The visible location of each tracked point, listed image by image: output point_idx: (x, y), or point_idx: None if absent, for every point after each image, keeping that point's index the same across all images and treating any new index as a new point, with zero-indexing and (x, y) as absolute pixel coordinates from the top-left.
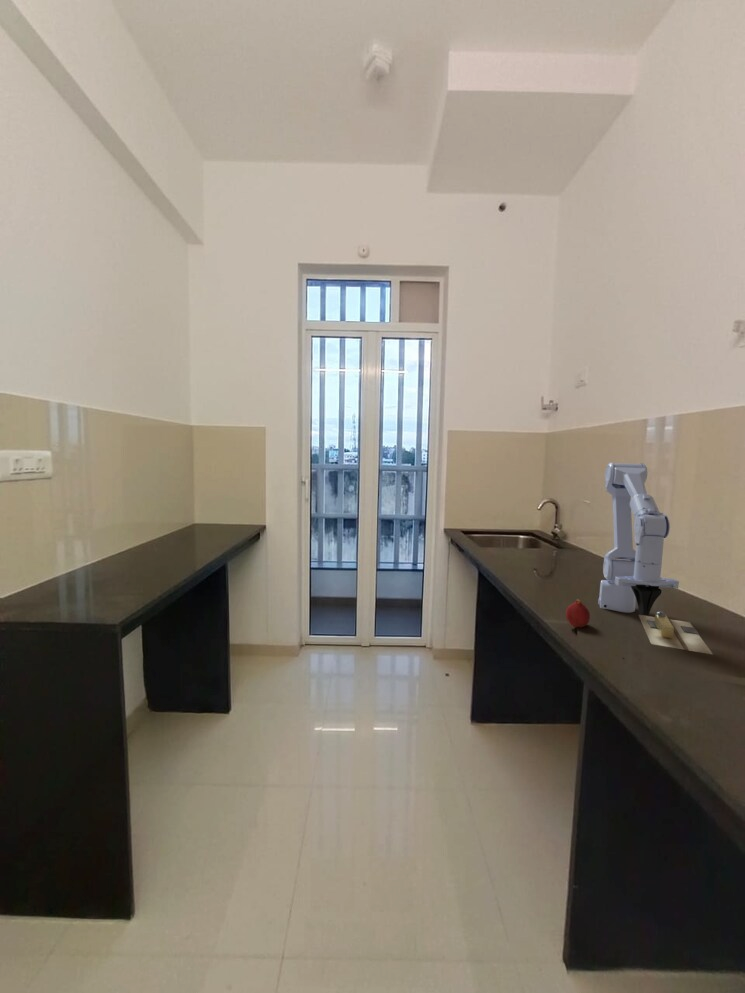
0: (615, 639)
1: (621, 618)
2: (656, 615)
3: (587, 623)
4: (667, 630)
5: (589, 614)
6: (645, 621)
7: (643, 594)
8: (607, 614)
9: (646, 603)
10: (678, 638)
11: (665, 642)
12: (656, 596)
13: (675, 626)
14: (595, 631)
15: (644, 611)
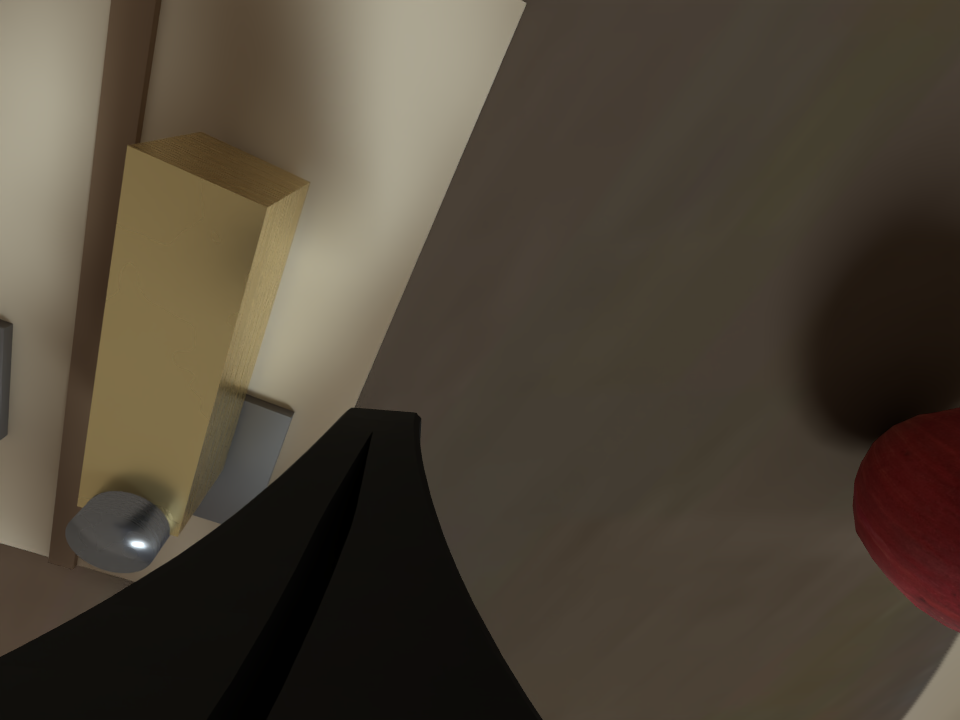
0: (726, 240)
1: None
2: (184, 505)
3: (905, 432)
4: (223, 169)
5: (952, 500)
6: None
7: (478, 713)
8: None
9: (373, 520)
10: None
11: (327, 56)
12: (87, 643)
13: (52, 439)
14: (773, 394)
15: (406, 436)
